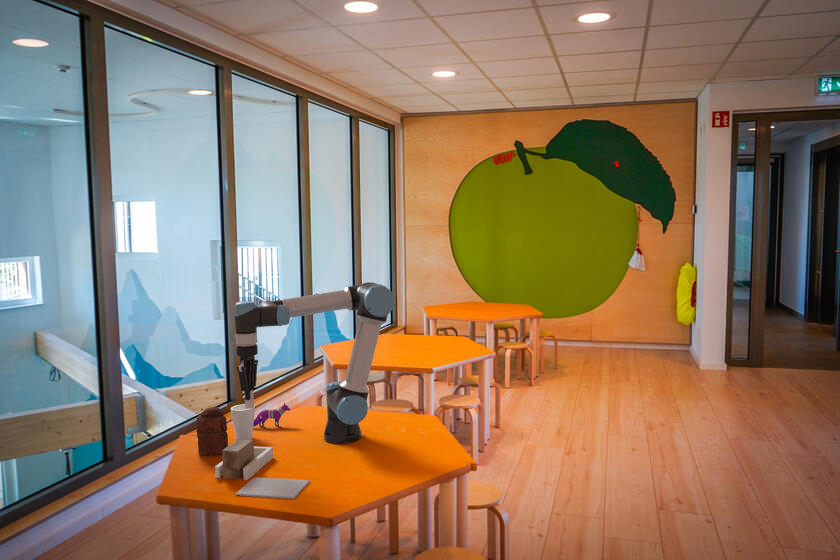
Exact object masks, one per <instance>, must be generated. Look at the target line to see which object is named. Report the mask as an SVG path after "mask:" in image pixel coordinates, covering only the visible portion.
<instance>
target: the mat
mask: <svg viewBox="0 0 840 560" xmlns="http://www.w3.org/2000/svg"><path fill="white" fill-rule="evenodd" d="M310 482H311V481H310V480H309V479H295V478H294V479H292V478H291V479H290V478H278V477H277V478H276V477H275V478H272V477H258V476H257V477H256V476H255V477H253V478H252V479H250V480H249V481H248V482H247V483H246V484H245V485H244V486H243V487H241V488H240V489H239V490H238V491H237V492H236V493H235V496H237V495H240V496H239V497H255V498H270V499H271V498H272V499H285V500H286V499H287V500H289V499H290V500H295V498H297V496H298V495H299V494H301V492H302V491H303V490H304V489H305V488H306V486H308V484H309V483H310Z"/></svg>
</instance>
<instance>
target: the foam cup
mask: <svg viewBox="0 0 840 560" xmlns="http://www.w3.org/2000/svg"><path fill="white" fill-rule="evenodd" d="M255 413H256V407H255V405H254V408H252V409H249V408H245V403H242V404H238V405H237V404H236V405H234V406H231V407H230V415H231V419H232V423H233V431H234V434H235V439H237V440H238V439H244V440H252V439H253V433H254V427H253V424H254V420H255ZM251 438H252V439H251Z"/></svg>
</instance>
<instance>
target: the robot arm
mask: <svg viewBox="0 0 840 560" xmlns="http://www.w3.org/2000/svg"><path fill="white" fill-rule="evenodd" d="M394 307H395V296H394V294H393V291H391V289H390V288H388V287H387V286H385V285H383V284H380V283H379V284H378V283H376V282H371V281H370V282H368V281H367V282H364V283H363V282H362V283H360V284H355V285H350V286H346V287H345V288H344V289H343V290H341V289H340V290H337V291H336V290H335V291H329V292H323V293H317V294H316V293H315V294H310V295H304V296H303V295H302V296H298V297H297V296H295V297H291V298H284V299H277V300H265V301H262V303H260V305H259V306H257V303H256V302H255V301H252V300H251V301H246V300H244V301H237V302H236V303H235V304H234V328H235V336H234V337H235V344H236V346H235V347H236V348H235V350H236V352H235V353H236V356H237V357H239V358H240V359H239V363H240V365H239V366H236V370H237V373H238V378H239V385H240V391H241V392H244V404H245V408H249V409H252V408H254V406H255V400H254V399H255V398H254V390H257V375H258V364H259V360H258V359H256V357H255V356H257V355H258V351H259V350H258V344H257V343H258V331H257V329H258V328H265V327H282V326H287V325H289V324H290V321H291V319H292V318H299V317H304V316H311V315H316V314H317V315H318V314H322V313H329V312H334V311H341V310H348V311H350V312H351V311H357V312H356V317H357V319H358V321H359V322H358V325H357V329H356V332H355V338H354V340H353V341H354V342H353V345H352V349H351V353H350V357H349V361H348V365H347V370H346V372H345V376H344V377H345V378H344V380H339V381H338V380H337V381H332V382H329V383H327V384H326V389H325V393H326V410H327V411H326V413H327V421H326V424H325V428H324V431H323V440H324V441H325V442H328V443H330V444H338V445H339V444H348V443H349V444H350V443H354V442H357V441H359V440H360V439H361V438H362V429H361V427H360V424H359V423H361V422H362V421H363V420H364V419H365V418H366V417H367V415H368V412H369V405H368V402H367V400H368V395H369V392H370V390H369V389H368V386H367V384H368V380H369V376H370V373H371V372H370V371H371V368H372V365H373V364H372V363H373V360H374V356H375V352H376V348H377V344H378V340H379V336H380V331H381V327H382V326H383V325H384V324H386V323H387V320H388V316H389V314H390V313H392V311H393V309H394Z"/></svg>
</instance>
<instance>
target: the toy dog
mask: <svg viewBox="0 0 840 560" xmlns="http://www.w3.org/2000/svg"><path fill="white" fill-rule="evenodd" d="M286 411H289V412H290V411H291V408H290V407H289V406H288V405H287V404H286V402H285V401H284V402H283V405H281V407H280V406H279V408H277V409H276V408H275V409H263V410H262V411H260V412H259V413H258V414H257V415H256V417H255V418H254V424H253V428H254V427H256V426H259V427H260V428H266V429H267V427H266V426H265V423H266V422H267V420H268V419H273V420H274V426H276V427H278V428H279V427H281V428H282V426H280V419H281V418H282V416H283V415H284V413H286Z"/></svg>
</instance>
